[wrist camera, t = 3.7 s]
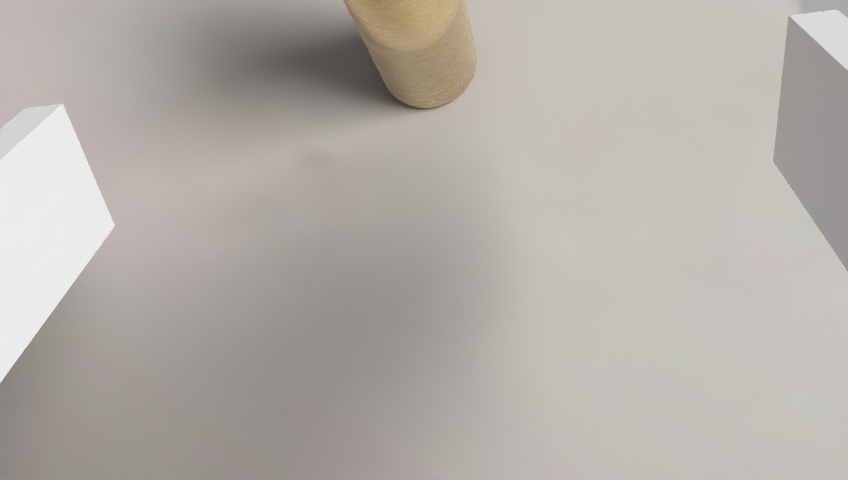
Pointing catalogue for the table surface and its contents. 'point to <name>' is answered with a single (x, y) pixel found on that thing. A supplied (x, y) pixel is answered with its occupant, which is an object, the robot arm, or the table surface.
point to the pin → (418, 47)
